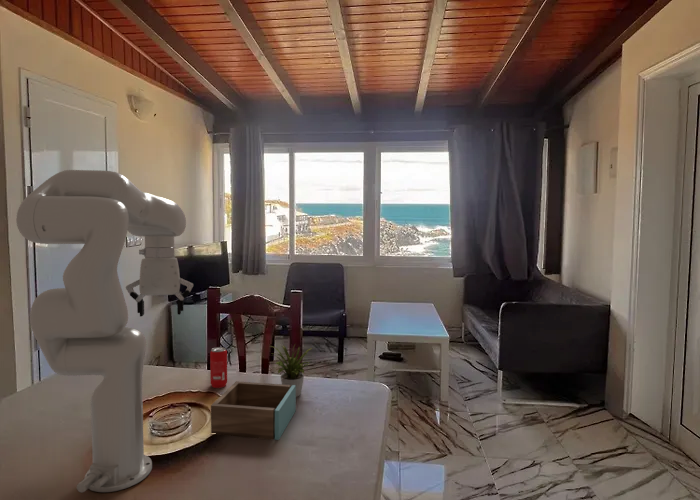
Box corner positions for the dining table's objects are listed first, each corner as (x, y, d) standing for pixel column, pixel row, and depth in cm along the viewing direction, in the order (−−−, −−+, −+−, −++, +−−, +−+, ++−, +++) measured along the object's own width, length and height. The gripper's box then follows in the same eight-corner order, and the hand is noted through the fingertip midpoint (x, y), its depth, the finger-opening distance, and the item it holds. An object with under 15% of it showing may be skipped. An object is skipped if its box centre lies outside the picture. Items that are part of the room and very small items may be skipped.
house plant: (256, 402, 128) (256, 348, 127) (275, 384, 142) (275, 335, 140) (301, 408, 125) (302, 352, 124) (316, 389, 138) (317, 339, 137)
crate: (273, 441, 106) (273, 410, 106) (211, 436, 108) (210, 405, 108) (290, 412, 122) (290, 385, 121) (236, 408, 124) (236, 381, 123)
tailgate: (278, 440, 106) (278, 410, 105) (274, 439, 106) (274, 410, 105) (295, 410, 122) (295, 385, 121) (292, 410, 122) (292, 385, 121)
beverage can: (207, 387, 139) (206, 350, 138) (216, 381, 144) (216, 346, 143) (221, 389, 137) (221, 352, 136) (230, 383, 142) (230, 347, 141)
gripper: (122, 255, 114) (124, 319, 115) (192, 254, 119) (193, 315, 121) (128, 252, 121) (129, 313, 123) (193, 252, 127) (194, 310, 128)
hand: (160, 314), depth 122 cm, fingers open, 9 cm apart
